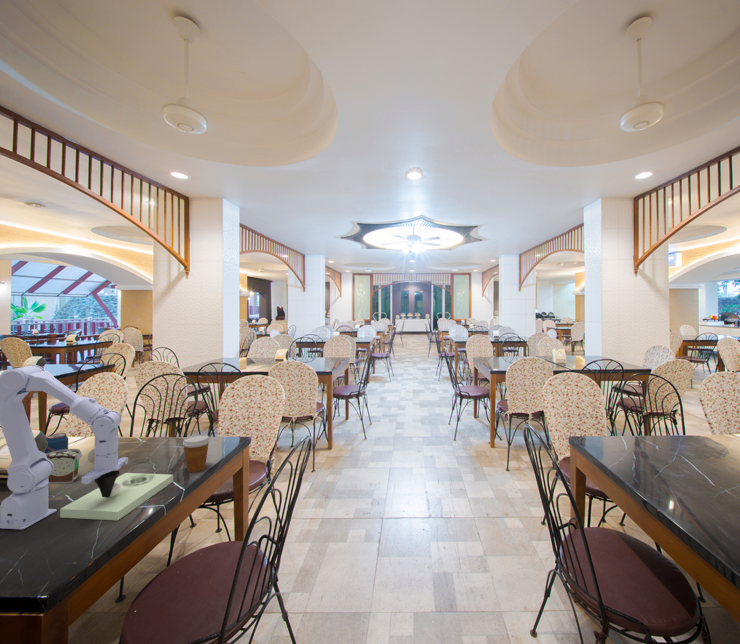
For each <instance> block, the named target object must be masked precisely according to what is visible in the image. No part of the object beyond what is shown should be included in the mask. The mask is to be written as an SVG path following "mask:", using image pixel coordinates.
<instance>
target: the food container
mask: <svg viewBox="0 0 740 644" xmlns="http://www.w3.org/2000/svg"><path fill="white" fill-rule="evenodd" d="M46 457H47V458H48V459H49V460H50V461H51V462H52V463H53V465H54V470H53V472H52V474H51V475H50V476H49V478H48V481H49V483H48V484H51V483H52V484H54V483H55V484H56V483H57V484H59V483H60V484H61V483H62V484H64V483H66V484H67V483H68V484H69V483H72V484H73V483H75V482H76V481H77V480H78V476H79V475H78V474H79V467H80V466H79V465H80V460H81V458H83V454H82V451H81V450H80V449H79V448H68V449H64V450H58V451H54V452H50V453H47V454H46Z"/></svg>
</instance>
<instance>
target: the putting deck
mask: <svg viewBox="0 0 740 644" xmlns="http://www.w3.org/2000/svg"><path fill="white" fill-rule="evenodd" d="M173 482H174V474H164V473H162V474H161V473H142V472H141V473H139V472H137V473H136V472H125V473H123V474H121V475H118V477H117V478H116V480H115V483H118V484H119V485H120V487H121V489H120V492H119V493H118V494H117V495H115V496H113V497H102V494H101V491H100V489H99V487H98V488H95V489H93V490H92V491H90V492H88V493H87V494H85V495H83V496H81V497H79V498H78V499H76V500H74V501H72V502H70V503H68V504H66V505H65V506H62V507H61V508H60V509H59V518H63V519H66V518H67V519H83V520H85V519H86V520H102V521H103V520H104V521H120V520H121V519H122V518H123V517H125V516H126V515H128V514H129V513H131V512H132V511H134V510H135V509H136V508H138V507H139V506H141V505H142V504H144V503H145V502H146V501H148V500H149V499H151V498H152V497H154V496H155V495H156V494H158V493H159V492H160V491H162V490H163V489H164V488H166V487H168V486H169V485H170V484H171V483H173Z"/></svg>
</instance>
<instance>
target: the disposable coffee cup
mask: <svg viewBox="0 0 740 644" xmlns="http://www.w3.org/2000/svg"><path fill="white" fill-rule="evenodd" d="M210 441H211V439H210V437H209V435H207V434H195V435H190V436H186V437H185V438H184V439H183V442H182V446H183V450H184V456H185V461H186V462H185V464H186V471H187V472H189V473H196V472H197V473H198V472H200V471H201V472H202V471H203V470H204V469H206V464H207V458H208V456H207V455H208V450H209V443H210Z"/></svg>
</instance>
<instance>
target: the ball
mask: <svg viewBox="0 0 740 644" xmlns="http://www.w3.org/2000/svg"><path fill="white" fill-rule="evenodd" d="M120 489H121V487H120V485H119V484H118V483H114V485H113V488H112V491H111V495H110V497H113V496H115V495H117V494H118V493H119V492H120Z"/></svg>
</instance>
